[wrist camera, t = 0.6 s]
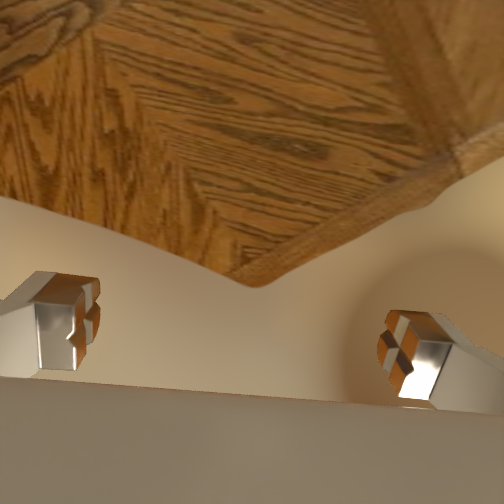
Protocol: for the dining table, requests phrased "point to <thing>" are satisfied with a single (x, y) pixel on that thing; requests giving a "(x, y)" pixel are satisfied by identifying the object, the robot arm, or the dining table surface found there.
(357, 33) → the dining table surface
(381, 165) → the dining table surface
